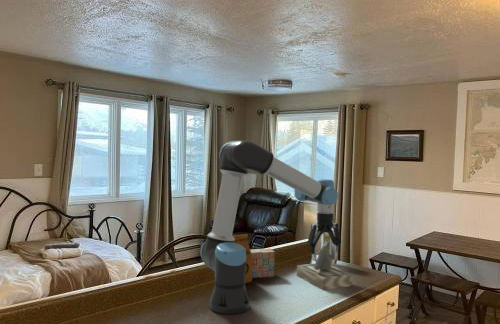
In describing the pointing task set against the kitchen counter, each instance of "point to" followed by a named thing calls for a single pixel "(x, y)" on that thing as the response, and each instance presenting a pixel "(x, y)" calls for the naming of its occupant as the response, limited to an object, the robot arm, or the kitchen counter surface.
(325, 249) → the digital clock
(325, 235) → the juice carton
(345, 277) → the birch plinth
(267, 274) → the stack of blocks
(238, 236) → the coffee package
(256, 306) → the kitchen counter surface
